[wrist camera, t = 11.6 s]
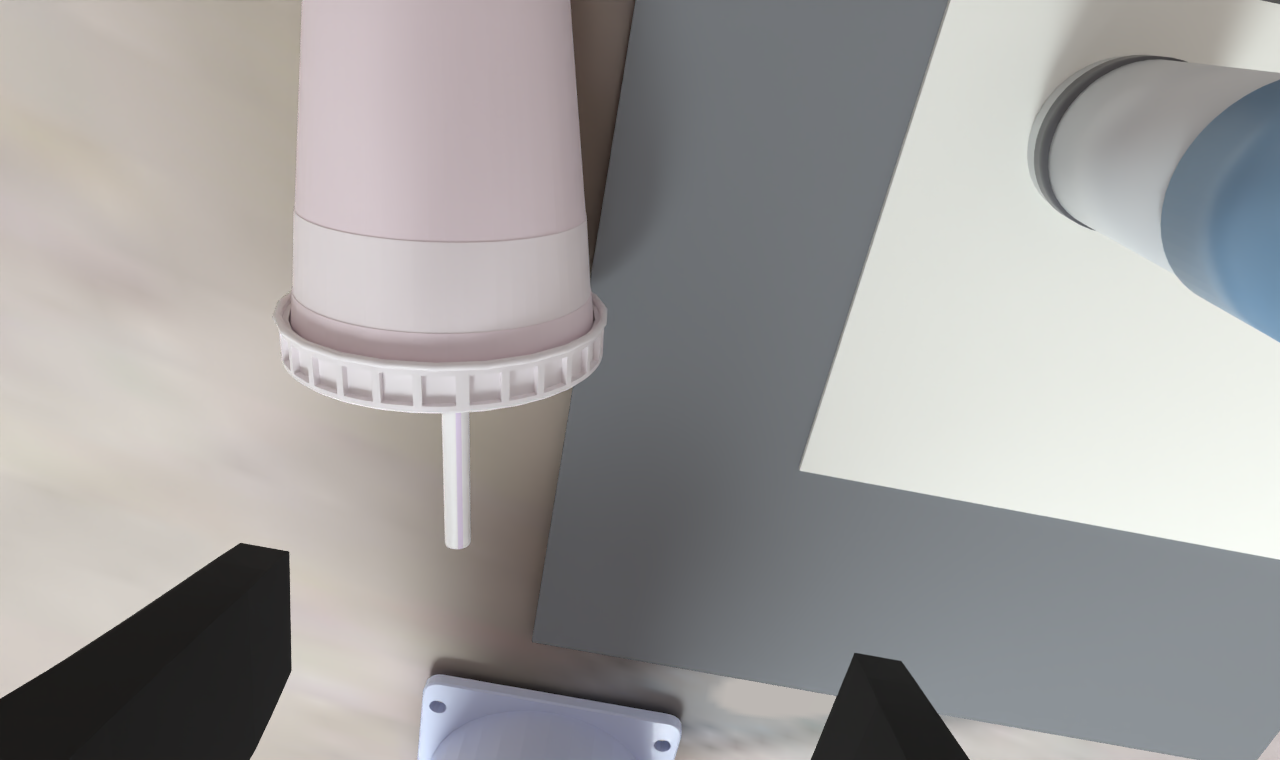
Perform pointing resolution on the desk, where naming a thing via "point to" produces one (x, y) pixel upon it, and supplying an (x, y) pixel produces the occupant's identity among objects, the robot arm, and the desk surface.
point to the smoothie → (439, 215)
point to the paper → (1050, 306)
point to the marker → (1173, 172)
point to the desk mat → (784, 414)
